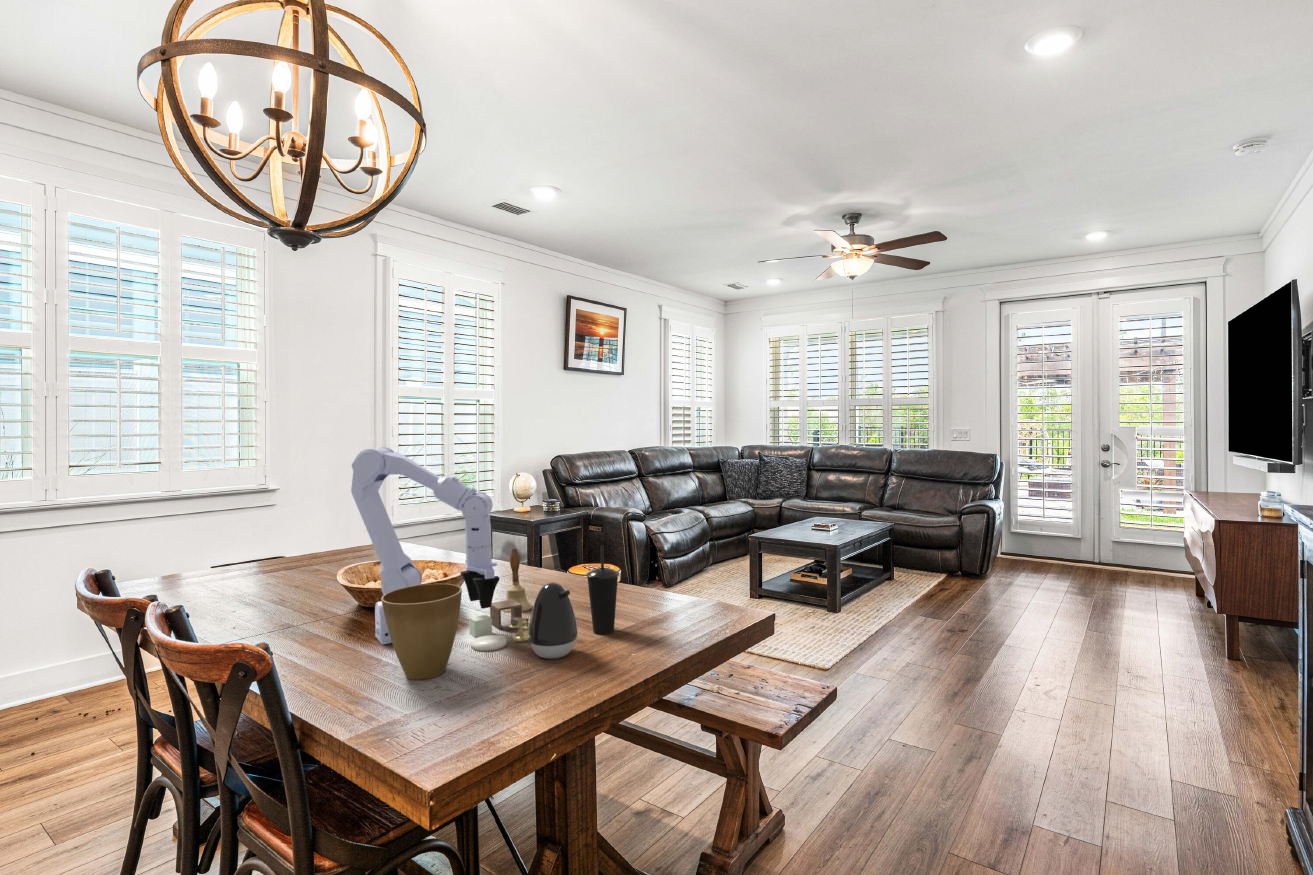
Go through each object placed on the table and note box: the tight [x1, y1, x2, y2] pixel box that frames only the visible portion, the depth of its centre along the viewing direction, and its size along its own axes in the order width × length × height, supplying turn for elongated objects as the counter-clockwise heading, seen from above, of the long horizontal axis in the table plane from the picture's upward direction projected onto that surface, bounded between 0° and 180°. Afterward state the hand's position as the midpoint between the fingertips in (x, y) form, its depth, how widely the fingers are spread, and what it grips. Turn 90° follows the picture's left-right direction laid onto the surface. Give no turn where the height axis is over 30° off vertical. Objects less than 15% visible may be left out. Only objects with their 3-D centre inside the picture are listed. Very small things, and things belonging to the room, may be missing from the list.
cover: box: [489, 599, 523, 631], centre depth 159 cm, size 6×6×5 cm
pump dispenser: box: [527, 582, 578, 660], centre depth 137 cm, size 10×10×15 cm
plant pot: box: [380, 583, 463, 681], centre depth 128 cm, size 15×15×16 cm
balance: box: [507, 617, 530, 644], centre depth 147 cm, size 4×11×6 cm, turn 34°
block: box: [468, 613, 493, 639], centre depth 152 cm, size 4×4×4 cm
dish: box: [470, 634, 508, 652], centre depth 144 cm, size 8×8×1 cm
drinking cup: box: [585, 545, 620, 636], centre depth 152 cm, size 8×8×20 cm
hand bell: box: [501, 547, 533, 613], centre depth 173 cm, size 8×8×16 cm
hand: (480, 603), depth 152 cm, fingers open, 7 cm apart
